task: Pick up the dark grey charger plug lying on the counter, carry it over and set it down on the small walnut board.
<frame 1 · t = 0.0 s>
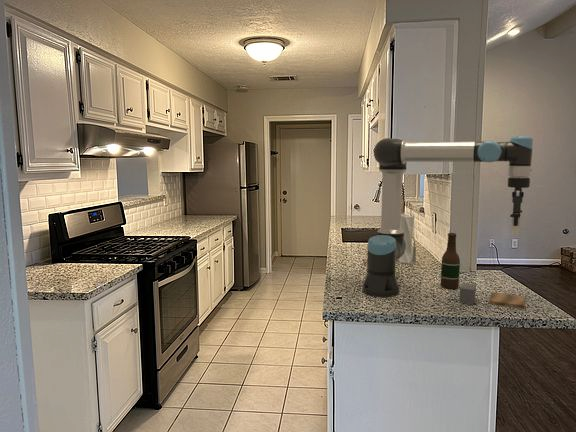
hand: (515, 231, 171), 28 cm above the counter, tool pointing down, fingers open, 13 cm apart
charger plug: (467, 300, 174), on the counter
walnut board: (506, 301, 173), on the counter
beer bottle: (449, 287, 193), on the counter
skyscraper: (406, 263, 236), on the counter
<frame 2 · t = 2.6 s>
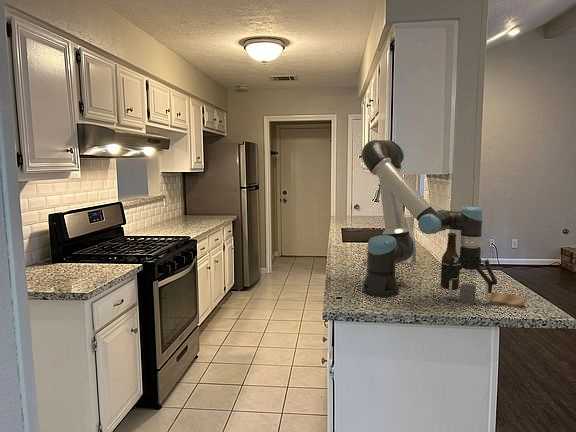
hand: (468, 298, 174), 1 cm above the counter, tool pointing down, fingers open, 13 cm apart
nothing on the counter moved.
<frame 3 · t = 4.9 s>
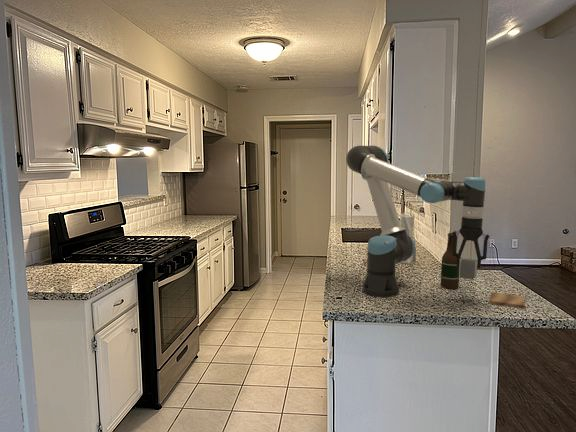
hand: (467, 274, 173), 11 cm above the counter, tool pointing down, fingers closed on charger plug, 5 cm apart
charger plug: (467, 275, 173), point 10 cm above the counter, touching gripper
everything else where it was.
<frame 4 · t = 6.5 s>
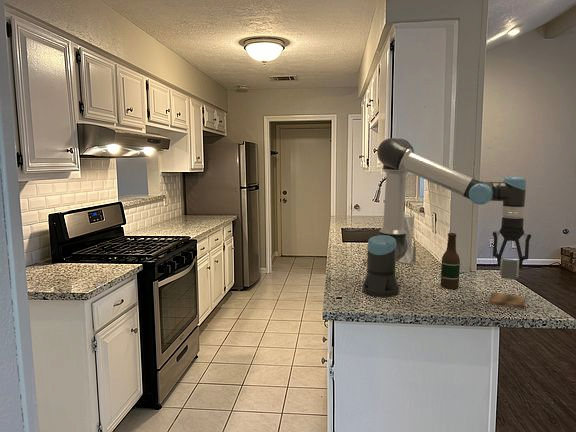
hand: (509, 275, 172), 11 cm above the counter, tool pointing down, fingers closed on charger plug, 5 cm apart
charger plug: (508, 276, 171), point 10 cm above the counter, touching gripper
everything else where it was.
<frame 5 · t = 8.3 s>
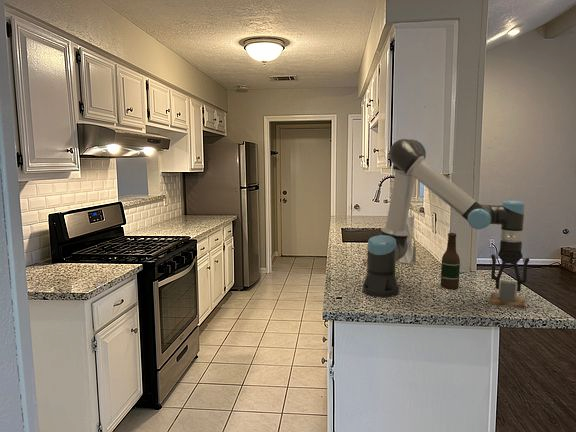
hand: (507, 297, 173), 2 cm above the counter, tool pointing down, fingers closed on charger plug, 5 cm apart
charger plug: (507, 298, 173), point 1 cm above the counter, touching gripper, walnut board
everything else where it was.
when the fingers open (2 cm above the counter, at t = 8.7 s): charger plug stays where it is, resting on walnut board.
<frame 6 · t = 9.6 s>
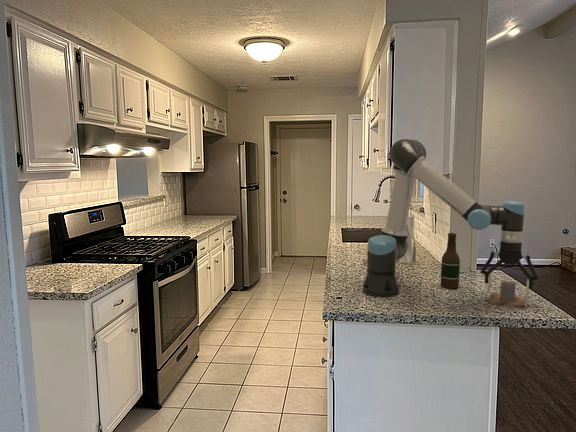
hand: (507, 293, 173), 3 cm above the counter, tool pointing down, fingers open, 13 cm apart
charger plug: (507, 298, 173), point 1 cm above the counter, touching walnut board
everything else where it was.
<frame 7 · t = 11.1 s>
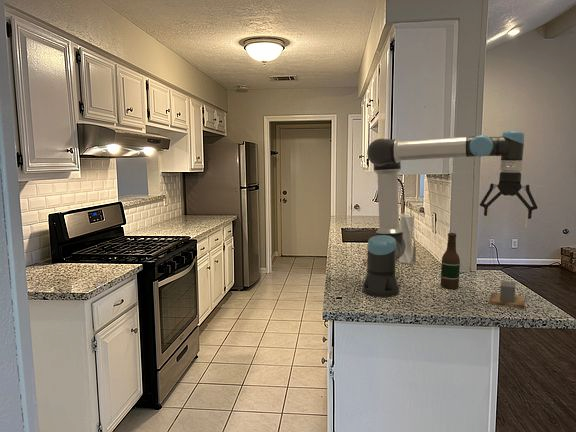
hand: (506, 225, 172), 30 cm above the counter, tool pointing down, fingers open, 13 cm apart
nothing on the counter moved.
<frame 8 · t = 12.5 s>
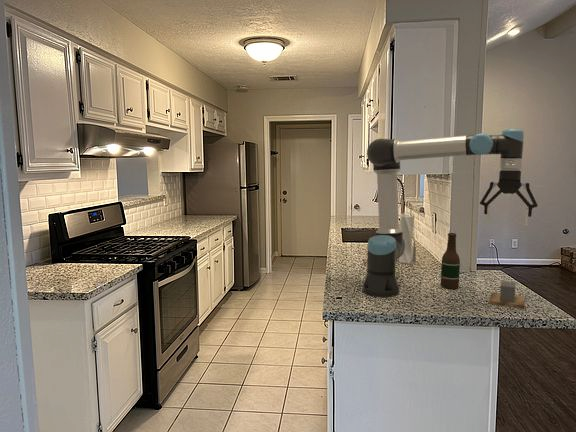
hand: (506, 223, 172), 31 cm above the counter, tool pointing down, fingers open, 13 cm apart
nothing on the counter moved.
at the end: charger plug inside the target area on the walnut board (0.1 cm from its centre), point 1.2 cm above the walnut board's base; the gripper is holding nothing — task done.
